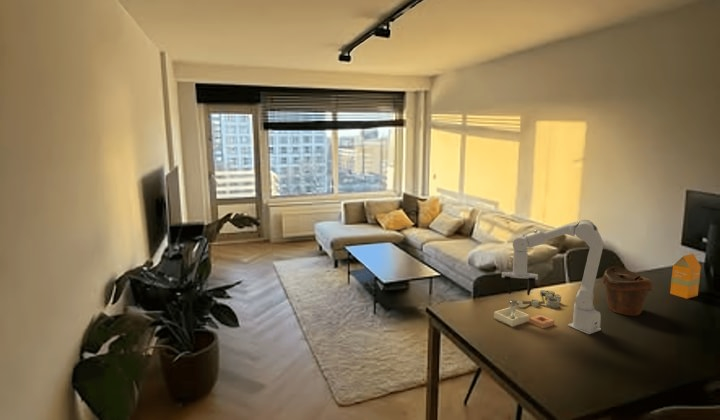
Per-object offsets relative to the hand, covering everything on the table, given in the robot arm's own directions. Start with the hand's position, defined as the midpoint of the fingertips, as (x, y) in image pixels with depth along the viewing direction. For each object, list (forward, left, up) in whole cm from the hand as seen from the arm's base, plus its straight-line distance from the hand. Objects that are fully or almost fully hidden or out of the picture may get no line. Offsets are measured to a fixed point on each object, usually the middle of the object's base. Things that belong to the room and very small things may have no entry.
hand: (518, 293), depth 185 cm
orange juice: (-25, -87, -10) cm, 91 cm away
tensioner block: (-11, -2, -10) cm, 15 cm away
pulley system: (+3, -21, -11) cm, 24 cm away
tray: (-2, +6, -10) cm, 12 cm away
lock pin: (-2, +6, -9) cm, 11 cm away
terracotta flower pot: (-21, -45, -10) cm, 50 cm away
